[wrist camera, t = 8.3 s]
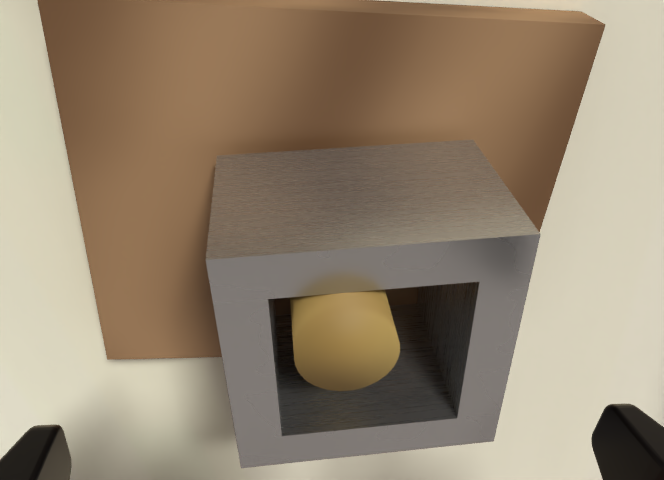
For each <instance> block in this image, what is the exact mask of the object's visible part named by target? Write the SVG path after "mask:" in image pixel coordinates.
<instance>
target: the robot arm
mask: <svg viewBox="0 0 664 480" xmlns="http://www.w3.org/2000/svg"><path fill="white" fill-rule="evenodd" d="M592 447H593V451H594V454H595V457H596V460H597V463H598V466H599V469H600V472H601V475H602V478H603V480H664V427H663V426H661V425H660V424H659V423H657V422H656V421H655V420H653V419H652V418H651V417H649V416H648V415H647V414H645V413H644V412H643V411H641V410H640V409H639V408H637V407H636V406H634V405H631V404H610V405H608V406H607V407H606V408H605V409H604V411H603V413H602V415H601V417H600V419H599V421H598V423H597V425H596V427H595V429H594V431H593V434H592ZM70 474H71V456H70V452H69V449H68V445H67V442H66V438H65V434H64V431H63V429H62V427H61V426H59V425H38V426H34V427H32V428H30V429H29V430H28V431H27V432H26V433H25V434H24V435H23V436H22V437H21V438H20V439H19V440H18V441H17V442H16V444H15V445H14V446H13V447H12V448H11V449H10V450H9V451H8V452H7V453H6V454H5V455H4V456H3V457H2V458H1V460H0V480H69V479H70Z"/></svg>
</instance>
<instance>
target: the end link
mask: <svg viewBox="0 0 664 480" xmlns="http://www.w3.org/2000/svg"><path fill="white" fill-rule="evenodd" d="M539 238H540V233H539V231H538V230H537V228H536V227H535V226H534V224H533V223H532V221H531V220H530V219H529V217H528V216H527V214H526V213H525V212H524V210H523V209H522V207H521V206H520V205H519V203H518V202H517V200H516V199H515V198H514V196H513V195H512V193H511V192H510V191H509V189H508V188H507V186H506V185H505V184H504V182H503V181H502V179H501V178H500V177H499V175H498V174H497V172H496V171H495V170H494V168H493V167H492V165H491V164H490V163H489V161H488V160H487V158H486V157H485V156H484V154H483V153H482V151H481V150H480V149H479V147H478V146H477V144H476V143H475V142H474V140H457V141H441V142H426V143H410V144H394V145H378V146H362V147H346V148H330V149H314V150H298V151H283V152H267V153H251V154H235V155H219V156H217V159H216V168H215V177H214V186H213V196H212V205H211V214H210V224H209V233H208V242H207V251H206V265H207V271H208V277H209V283H210V289H211V294H212V300H213V306H214V312H215V318H216V324H217V330H218V335H219V341H220V347H221V353H222V359H223V365H224V370H225V376H226V382H227V388H228V394H229V400H230V405H231V411H232V417H233V423H234V429H235V435H236V440H237V446H238V452H239V458H240V464H241V468H246V467H256V466H265V465H274V464H284V463H293V462H303V461H312V460H321V459H331V458H340V457H350V456H359V455H368V454H378V453H387V452H397V451H406V450H415V449H425V448H434V447H444V446H453V445H462V444H472V443H481V442H491V441H494V437H495V433H496V428H497V424H498V420H499V415H500V411H501V406H502V402H503V397H504V393H505V389H506V384H507V380H508V375H509V371H510V366H511V362H512V358H513V353H514V349H515V344H516V340H517V336H518V331H519V327H520V322H521V318H522V313H523V309H524V305H525V300H526V296H527V291H528V287H529V282H530V278H531V274H532V269H533V265H534V260H535V256H536V252H537V247H538V243H539ZM408 287H419V289H418V301H417V304H406V305H394V306H390V310H391V314H392V317H393V321H394V324H395V328H396V331H397V335H398V339H399V342H400V354H399V357H398V360H397V362H396V364H395V365H394V367H393V368H392V370H391V371H390V372H389V373H388V374H387V375H386V376H384V377H383V378H382V379H380V380H379V381H377V382H375V383H373V384H371V385H369V386H366V387H363V388H360V389H356V390H350V391H332V390H327V389H323V388H319V387H317V386H315V385H312V384H311V383H309V382H308V381H306V380H305V379H304V378H303V377H302V376H301V375H300V373H299V372H298V370H297V368H296V366H295V362H294V351H293V336H292V322H291V314H289V315H277V316H276V311H275V301H274V299H276V298H288V297H300V296H312V295H324V294H336V293H348V292H360V291H372V290H384V289H396V288H408Z"/></svg>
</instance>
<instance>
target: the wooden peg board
mask: <svg viewBox="0 0 664 480" xmlns="http://www.w3.org/2000/svg"><path fill="white" fill-rule="evenodd" d="M38 5H39V10H40V16H41V21H42V26H43V31H44V36H45V41H46V46H47V52H48V57H49V62H50V67H51V72H52V77H53V82H54V88H55V93H56V98H57V103H58V108H59V113H60V118H61V124H62V129H63V134H64V139H65V144H66V149H67V154H68V160H69V165H70V170H71V175H72V180H73V185H74V190H75V195H76V201H77V206H78V211H79V216H80V221H81V226H82V231H83V237H84V242H85V247H86V252H87V257H88V262H89V267H90V273H91V278H92V283H93V288H94V293H95V298H96V303H97V309H98V314H99V319H100V324H101V329H102V334H103V339H104V345H105V350H106V355H107V359H149V358H194V357H222V353H221V347H220V341H219V335H218V330H217V324H216V318H215V312H214V306H213V300H212V294H211V289H210V283H209V277H208V271H207V265H206V251H207V242H208V233H209V224H210V214H211V205H212V196H213V186H214V177H215V168H216V159H217V156H219V155H235V154H251V153H267V152H283V151H298V150H314V149H330V148H346V147H362V146H378V145H394V144H410V143H426V142H441V141H457V140H474V142H475V143H476V144H477V146H478V147H479V149H480V150H481V151H482V153H483V154H484V156H485V157H486V158H487V160H488V161H489V163H490V164H491V165H492V167H493V168H494V170H495V171H496V172H497V174H498V175H499V177H500V178H501V179H502V181H503V182H504V184H505V185H506V186H507V188H508V189H509V191H510V192H511V193H512V195H513V196H514V198H515V199H516V200H517V202H518V203H519V205H520V206H521V207H522V209H523V210H524V212H525V213H526V214H527V216H528V217H529V219H530V220H531V221H532V223H533V224H534V226H535V227H536V228H537V230H538V231H539V232H540V229H541V226H542V222H543V219H544V216H545V213H546V210H547V207H548V204H549V200H550V197H551V194H552V191H553V188H554V185H555V182H556V178H557V175H558V172H559V169H560V166H561V163H562V160H563V157H564V153H565V150H566V147H567V144H568V141H569V138H570V135H571V131H572V128H573V125H574V122H575V119H576V116H577V113H578V109H579V106H580V103H581V100H582V97H583V94H584V91H585V87H586V84H587V81H588V78H589V75H590V72H591V69H592V65H593V62H594V59H595V56H596V53H597V50H598V47H599V43H600V40H601V37H602V34H603V31H604V28H605V24H603V23H601V22H600V21H598V20H596V19H594V18H592V17H590V16H588V15H587V14H585V13H583V12H579V11H560V10H541V9H523V8H504V7H485V6H466V5H448V4H429V3H410V2H391V1H373V0H38ZM418 289H419V287H408V288H396V289H384V290H372V291H360V292H348V293H336V294H324V295H312V296H300V297H288V298H276V299H274V301H275V311H276V316H277V315H289V314H291V322H292V336H293V351H294V362H295V366H296V368H297V370H298V372H299V373H300V375H301V376H302V377H303V378H304V379H305V380H306V381H308V382H309V383H311V384H312V385H315V386H317V387H319V388H323V389H327V390H332V391H350V390H356V389H360V388H363V387H366V386H369V385H371V384H373V383H375V382H377V381H379V380H380V379H382V378H383V377H384V376H386V375H387V374H388V373H389V372H390V371H391V370H392V368H393V367H394V365H395V364H396V362H397V360H398V357H399V354H400V342H399V339H398V335H397V331H396V328H395V324H394V321H393V317H392V314H391V310H390V306H394V305H406V304H417V301H418Z"/></svg>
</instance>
